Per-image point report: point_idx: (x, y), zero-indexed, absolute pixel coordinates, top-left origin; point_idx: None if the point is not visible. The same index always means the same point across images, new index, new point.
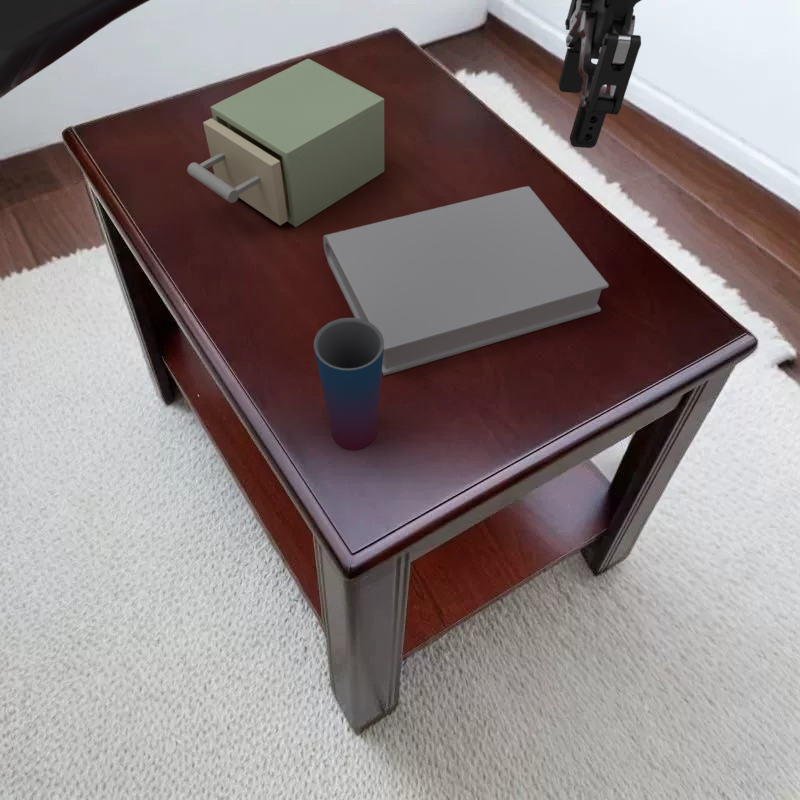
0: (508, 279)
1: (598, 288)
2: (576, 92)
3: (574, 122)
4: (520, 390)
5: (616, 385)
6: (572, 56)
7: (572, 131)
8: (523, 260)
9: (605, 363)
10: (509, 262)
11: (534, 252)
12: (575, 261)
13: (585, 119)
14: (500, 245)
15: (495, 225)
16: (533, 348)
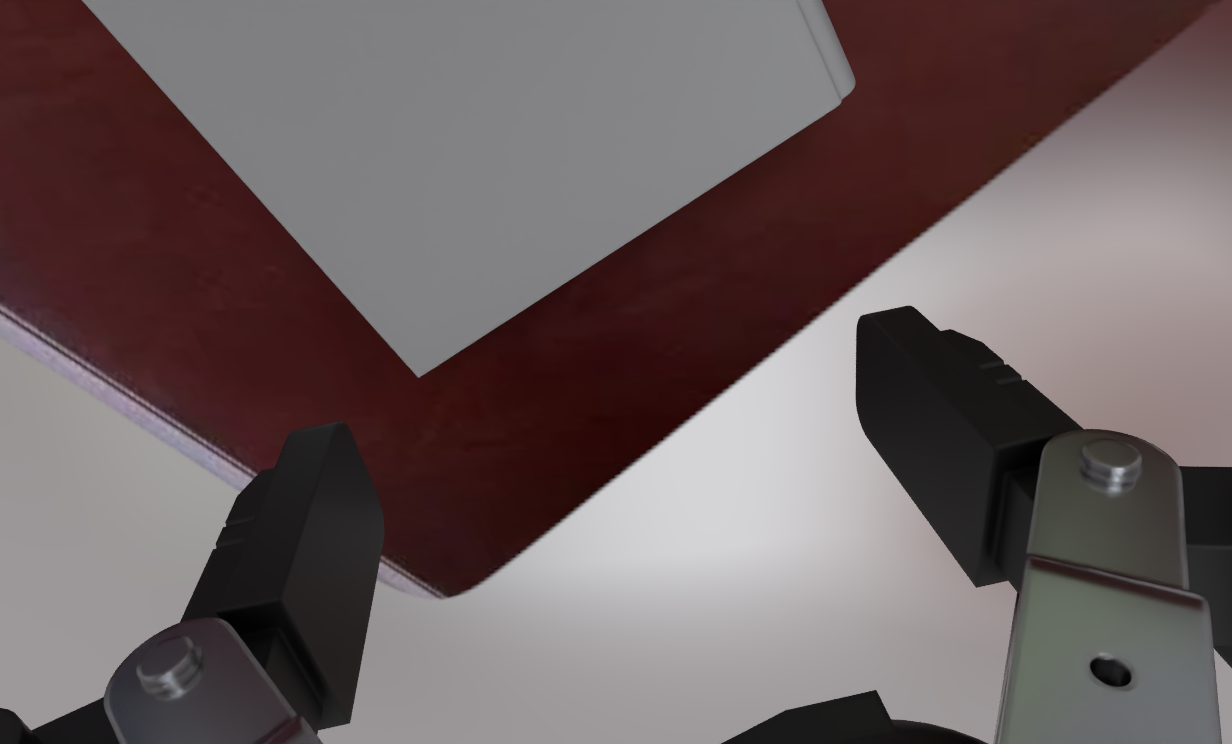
0: (336, 82)
1: (397, 352)
2: (857, 398)
3: (300, 494)
4: (46, 156)
5: (188, 386)
6: (973, 461)
7: (302, 461)
8: (447, 124)
9: (250, 358)
10: (423, 76)
11: (498, 157)
12: (491, 284)
13: (187, 606)
14: (503, 33)
15: (607, 1)
16: (224, 176)
